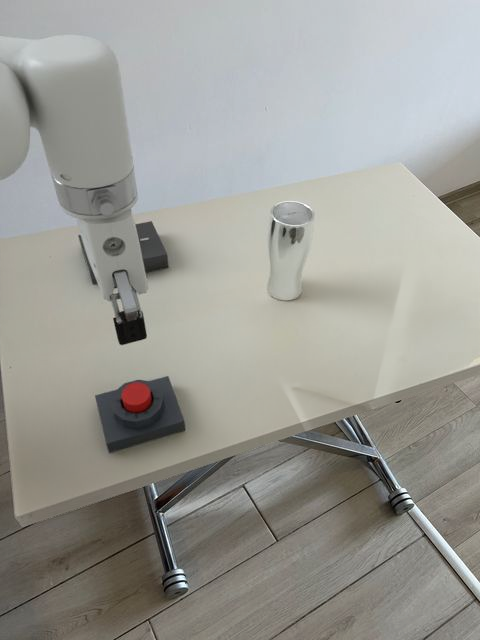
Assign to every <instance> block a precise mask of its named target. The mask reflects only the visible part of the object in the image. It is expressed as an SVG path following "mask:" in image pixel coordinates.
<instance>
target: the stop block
mask: <svg viewBox="0 0 480 640" xmlns="http://www.w3.org/2000/svg"><path fill="white" fill-rule="evenodd" d="M132 383H143V384H145V385H147V386H148V387H149V389H150V393H151V398H152V402H151V405H150V406H149V408H148V409H146V410H145V411H143V412H140V413H132V412H129V411H128V410H126V409H125V407H124V405H123V401H122V397H121V394H122V391H123V389H124V388H125V387H126V386H128V385H129V384H132ZM94 398H95V402H96V406H97V411H98V414H99V419H100V422H101V427H102V431H103V435H104V440H105V443H106V447H107V451H108V453H109V454H111V453H115V452H117V451H118V452H119V451H121V450H124V449H128V448H131V447H134V446H137V445H141V444H144V443H147V442H151V441H155V440H157V439H161V438H164V437H168V436H171V435H175V434H177V433H181V432H184V431H186V423H185V419H184V415H183V413H182V410H181V408H180V405H179V402H178V399H177V396H176V394H175V390H174V388H173V385H172V383H171V378H170V377H169V375H166V376H162V377H158V378H155V379H151V380H143V379H135V380H132V381H127V382H124V383H123V384H122V385H121V386H119V387H118V388H117V389H114V390H113V389H112V390H110V391H106V392H102V393H98V394H95V395H94Z"/></svg>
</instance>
